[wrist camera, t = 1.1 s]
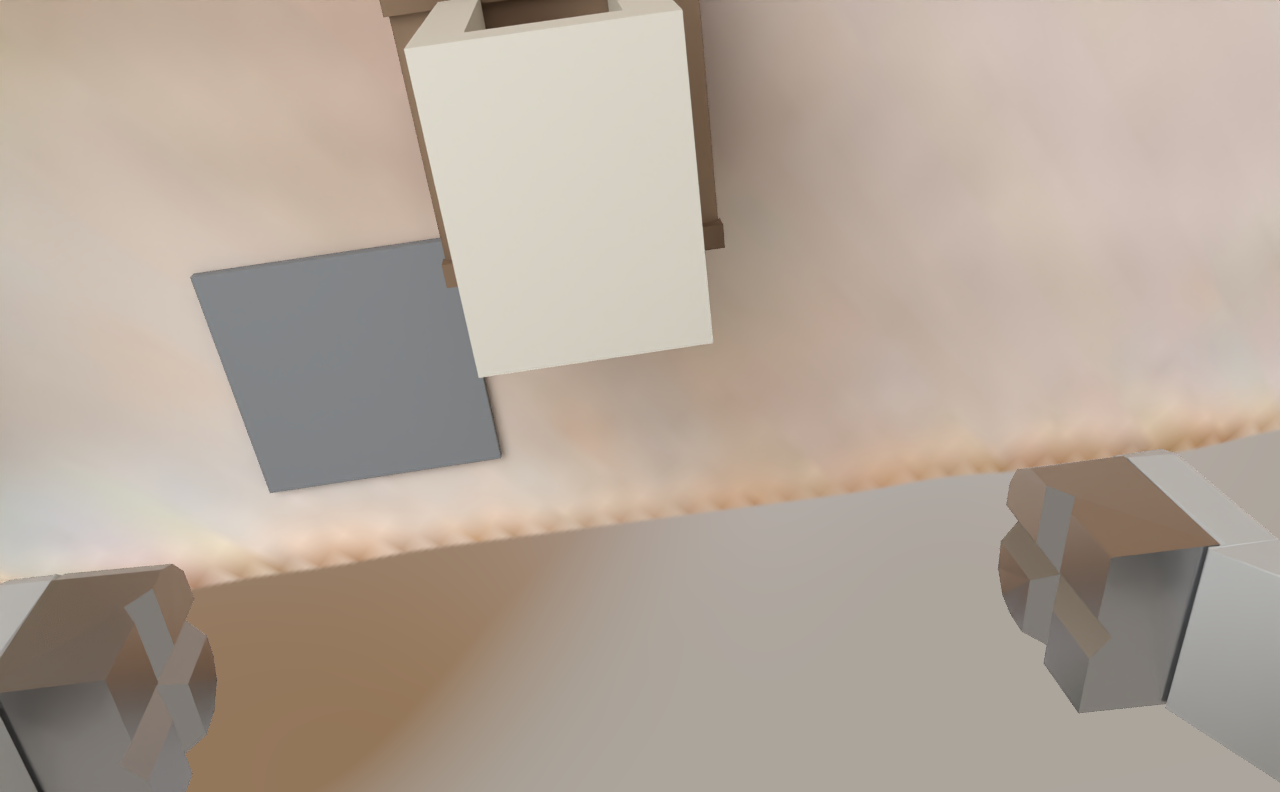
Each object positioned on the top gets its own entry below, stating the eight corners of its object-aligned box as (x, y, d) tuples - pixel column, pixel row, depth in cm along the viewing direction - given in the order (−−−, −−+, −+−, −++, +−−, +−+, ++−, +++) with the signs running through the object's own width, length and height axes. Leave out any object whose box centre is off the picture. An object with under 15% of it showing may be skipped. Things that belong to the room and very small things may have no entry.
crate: (672, -72, 33) (699, -58, 28) (696, 190, 38) (724, 247, 32) (404, -34, 33) (376, -13, 27) (460, 224, 38) (446, 288, 32)
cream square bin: (646, -28, 28) (682, 9, 21) (674, 237, 32) (713, 342, 25) (437, 2, 28) (404, 49, 21) (491, 264, 32) (478, 378, 25)
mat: (452, 236, 38) (451, 239, 37) (501, 453, 43) (500, 458, 42) (193, 273, 37) (190, 277, 37) (272, 487, 42) (270, 492, 42)
